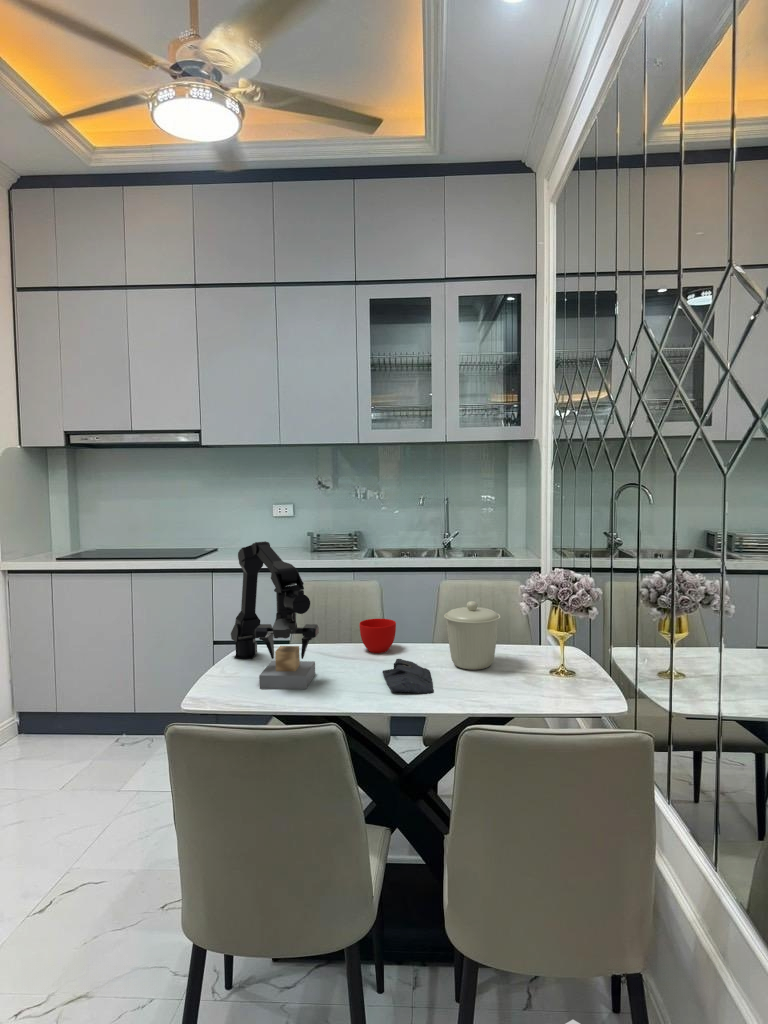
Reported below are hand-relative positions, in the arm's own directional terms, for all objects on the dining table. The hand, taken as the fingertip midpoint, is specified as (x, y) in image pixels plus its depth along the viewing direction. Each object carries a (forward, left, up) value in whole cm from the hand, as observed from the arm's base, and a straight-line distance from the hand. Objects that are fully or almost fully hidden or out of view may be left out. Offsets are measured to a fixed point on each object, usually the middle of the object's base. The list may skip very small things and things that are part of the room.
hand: (287, 658), depth 191 cm
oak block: (0, 0, -3) cm, 3 cm away
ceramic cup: (+24, +35, -7) cm, 43 cm away
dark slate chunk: (+37, 0, -8) cm, 37 cm away
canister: (+57, +17, -7) cm, 60 cm away
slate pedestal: (0, 0, -7) cm, 7 cm away
